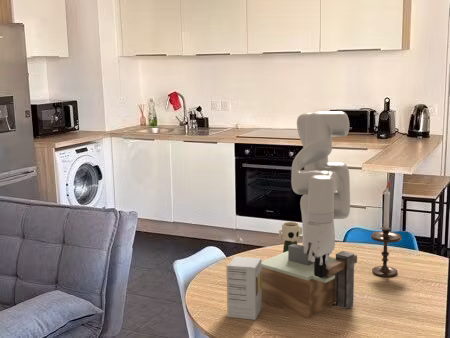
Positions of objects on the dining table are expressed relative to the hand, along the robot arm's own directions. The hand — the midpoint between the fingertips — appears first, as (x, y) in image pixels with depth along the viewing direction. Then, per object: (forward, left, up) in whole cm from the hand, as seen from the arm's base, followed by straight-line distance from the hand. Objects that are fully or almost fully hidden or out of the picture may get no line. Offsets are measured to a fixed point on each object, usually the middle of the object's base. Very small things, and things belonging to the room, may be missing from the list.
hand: (320, 276), depth 168 cm
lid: (-9, -11, -2) cm, 14 cm away
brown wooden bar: (-10, 0, -1) cm, 10 cm away
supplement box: (+11, -20, -14) cm, 27 cm away
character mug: (-43, -43, -14) cm, 63 cm away
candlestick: (-49, -4, -14) cm, 51 cm away
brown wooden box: (-9, -11, -14) cm, 19 cm away
